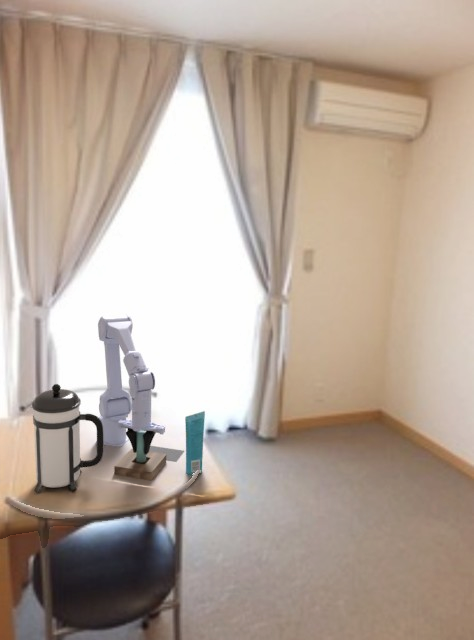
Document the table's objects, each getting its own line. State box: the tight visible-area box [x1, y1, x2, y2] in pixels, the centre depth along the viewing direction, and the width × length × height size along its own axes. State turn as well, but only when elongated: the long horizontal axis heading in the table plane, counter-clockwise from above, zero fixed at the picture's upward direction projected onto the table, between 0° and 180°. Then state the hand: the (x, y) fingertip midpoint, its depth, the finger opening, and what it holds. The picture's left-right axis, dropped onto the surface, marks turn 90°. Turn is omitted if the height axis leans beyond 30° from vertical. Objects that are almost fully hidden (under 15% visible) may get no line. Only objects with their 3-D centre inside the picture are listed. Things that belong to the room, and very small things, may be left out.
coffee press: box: [27, 383, 104, 494], centre depth 144 cm, size 17×16×30 cm
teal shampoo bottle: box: [185, 410, 206, 476], centre depth 154 cm, size 7×5×19 cm, turn 140°
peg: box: [136, 431, 146, 462], centre depth 155 cm, size 3×3×9 cm
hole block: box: [113, 448, 167, 481], centre depth 156 cm, size 12×12×3 cm
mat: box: [149, 445, 185, 463], centre depth 166 cm, size 12×8×1 cm, turn 77°
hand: (141, 452), depth 155 cm, fingers closed on peg, 3 cm apart
